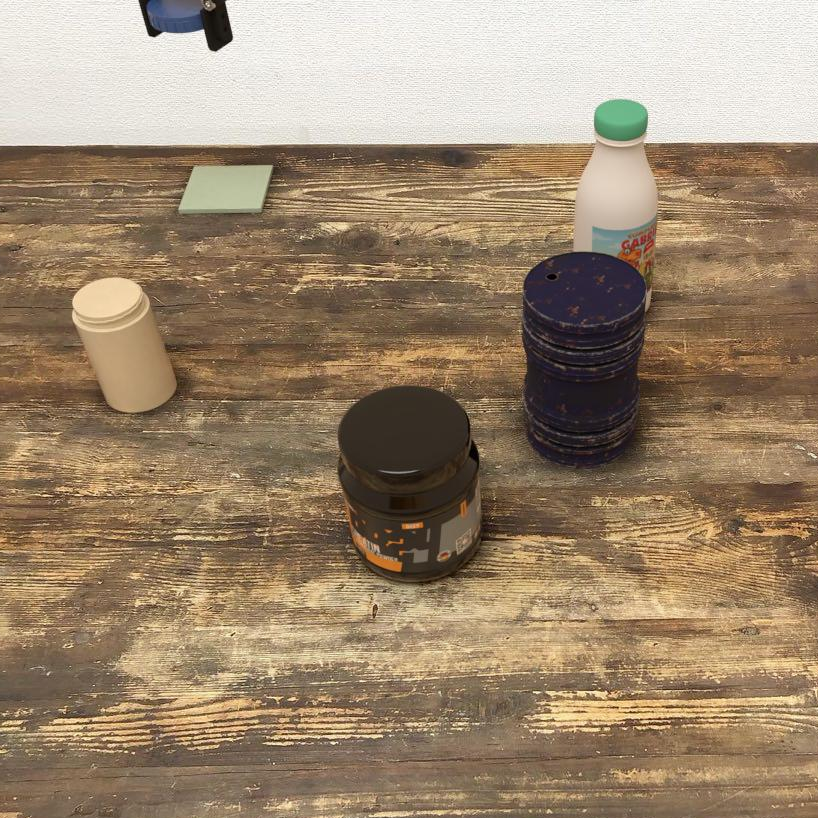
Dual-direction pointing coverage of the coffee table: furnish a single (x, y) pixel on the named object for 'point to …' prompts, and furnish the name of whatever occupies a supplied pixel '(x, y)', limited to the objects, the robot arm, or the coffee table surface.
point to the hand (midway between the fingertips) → (190, 37)
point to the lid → (175, 15)
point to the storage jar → (582, 356)
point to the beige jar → (124, 344)
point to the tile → (226, 189)
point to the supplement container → (410, 482)
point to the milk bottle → (619, 191)
